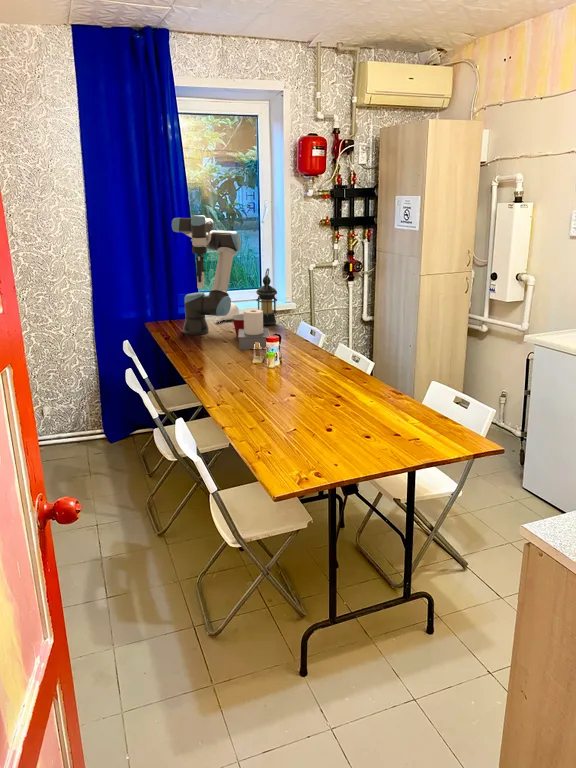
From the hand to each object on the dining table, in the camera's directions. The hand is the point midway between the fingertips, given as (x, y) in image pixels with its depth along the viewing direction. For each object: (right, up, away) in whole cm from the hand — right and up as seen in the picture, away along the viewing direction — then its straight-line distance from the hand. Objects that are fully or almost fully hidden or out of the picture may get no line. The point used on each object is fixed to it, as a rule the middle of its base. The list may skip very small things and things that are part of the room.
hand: (201, 286), depth 322 cm
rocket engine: (+5, -12, +64) cm, 66 cm away
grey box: (+28, -31, +7) cm, 43 cm away
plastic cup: (+20, -25, +25) cm, 41 cm away
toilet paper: (+28, -25, +4) cm, 38 cm away
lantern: (+34, -15, +54) cm, 66 cm away
